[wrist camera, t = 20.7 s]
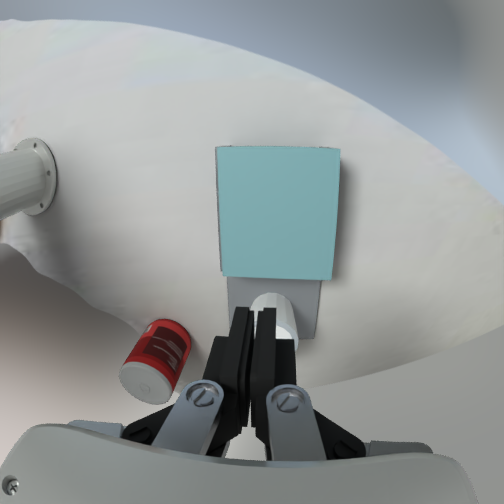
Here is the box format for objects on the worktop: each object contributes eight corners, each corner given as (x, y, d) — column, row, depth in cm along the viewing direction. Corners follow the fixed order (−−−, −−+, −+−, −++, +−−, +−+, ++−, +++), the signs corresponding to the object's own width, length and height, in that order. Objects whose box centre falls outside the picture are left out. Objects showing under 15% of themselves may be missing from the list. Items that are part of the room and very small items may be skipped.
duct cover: (224, 272, 34) (222, 276, 33) (219, 146, 29) (217, 147, 28) (330, 276, 32) (331, 280, 32) (338, 148, 27) (340, 149, 26)
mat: (231, 333, 42) (230, 335, 42) (227, 272, 38) (226, 274, 38) (313, 336, 41) (313, 339, 40) (320, 275, 37) (320, 277, 37)
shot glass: (307, 305, 38) (310, 338, 32) (277, 338, 41) (275, 372, 35) (265, 278, 38) (260, 308, 31) (236, 314, 40) (228, 346, 34)
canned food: (151, 352, 46) (126, 398, 36) (143, 313, 43) (111, 359, 33) (194, 359, 45) (175, 410, 35) (190, 320, 42) (165, 371, 32)
